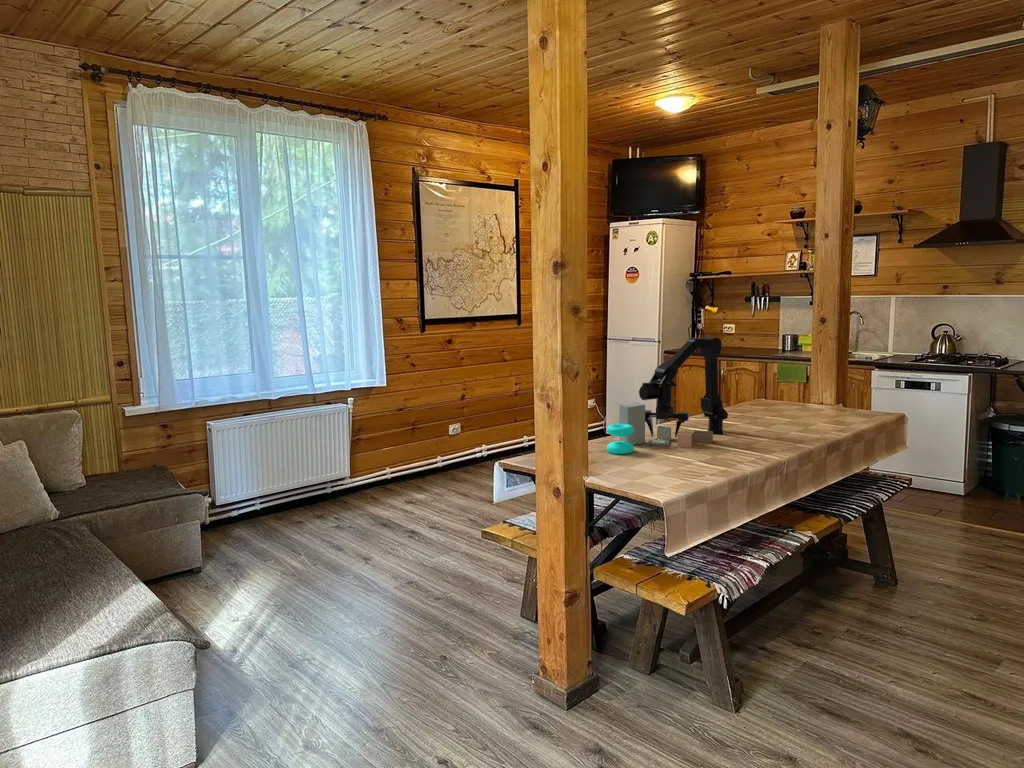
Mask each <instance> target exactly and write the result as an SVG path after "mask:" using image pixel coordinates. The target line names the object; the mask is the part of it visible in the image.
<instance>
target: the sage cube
mask: <svg viewBox="0 0 1024 768" xmlns="http://www.w3.org/2000/svg"><path fill="white" fill-rule="evenodd" d="M657 439H660V440H661V439H662V440H670V441H671V439H672V426H671V425H669V426H668V425H658V426H657V428H656V440H657Z"/></svg>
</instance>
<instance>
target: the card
mask: <svg viewBox="0 0 1024 768" xmlns="http://www.w3.org/2000/svg"><path fill="white" fill-rule="evenodd" d="M669 443H671V440H670V441H668V440H657V439H649V440H648V442H647V443H646V446H648V445H653V446H652V447H669V446H670V444H669ZM654 445H655V446H654ZM668 445H669V446H668Z"/></svg>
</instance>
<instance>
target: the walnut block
mask: <svg viewBox="0 0 1024 768" xmlns="http://www.w3.org/2000/svg"><path fill="white" fill-rule="evenodd" d="M691 433H692V444H693V443H701V444H700V445H709V444H711V445H712V444H713V442H714V433H713V431H707V430H694V431H693V432H691Z"/></svg>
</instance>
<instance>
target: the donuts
mask: <svg viewBox="0 0 1024 768" xmlns="http://www.w3.org/2000/svg"><path fill="white" fill-rule="evenodd" d="M606 432H607V433H608V434H609V435H611V436H613V437H619V438H620V437H623V436H629V435H631V434H632V433H633V432H634V427H633V426H631V425H629V424H620V423H612V424H609V425H608V426H607V427H606ZM634 450H635V445H632V444H631V443H629V442H625V441H620V440H616V441H612V442H609V444H607V446H606V451H608V452H609V453H610V454H613V455H628V454H631V453H633V452H634Z"/></svg>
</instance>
